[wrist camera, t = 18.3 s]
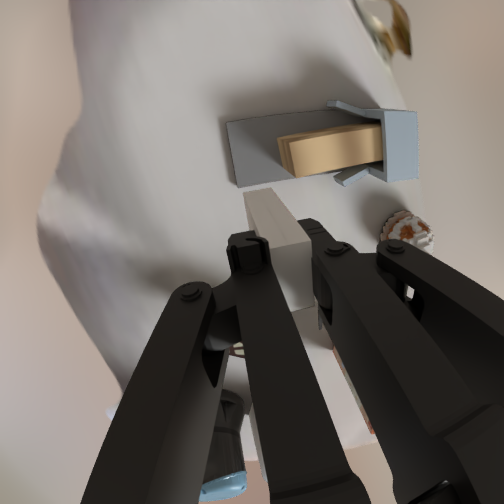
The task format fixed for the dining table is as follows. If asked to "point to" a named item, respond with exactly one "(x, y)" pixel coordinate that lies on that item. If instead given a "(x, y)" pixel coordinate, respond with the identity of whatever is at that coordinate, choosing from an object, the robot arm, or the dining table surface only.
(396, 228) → the decorative ornament
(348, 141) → the oak slat
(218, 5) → the dining table surface
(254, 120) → the board
